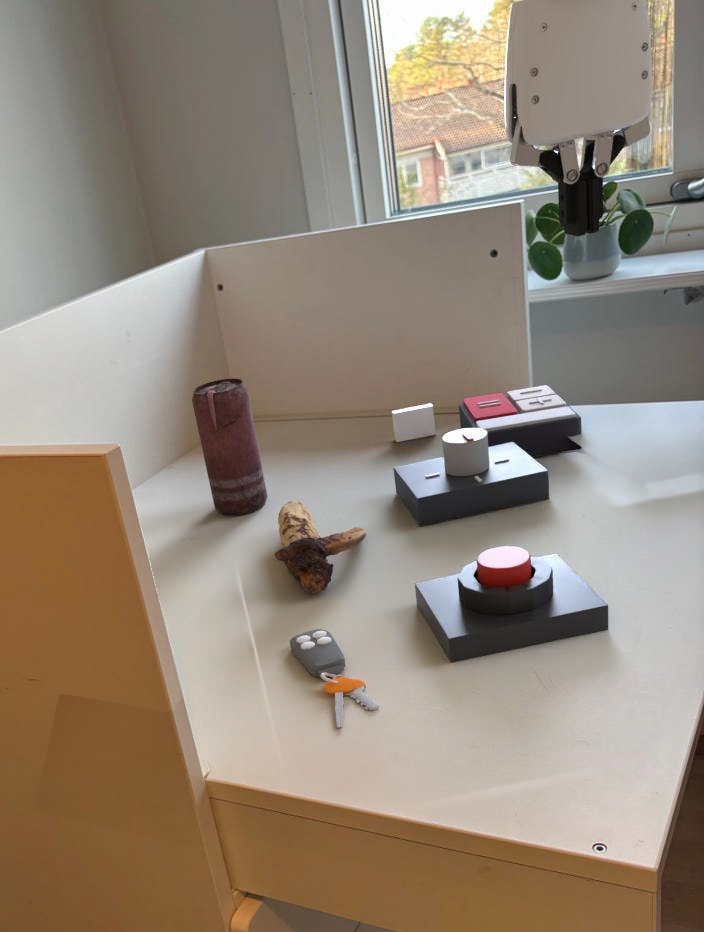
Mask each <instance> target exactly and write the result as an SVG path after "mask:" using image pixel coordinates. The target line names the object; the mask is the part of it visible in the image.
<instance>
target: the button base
mask: <svg viewBox="0 0 704 932" xmlns="http://www.w3.org/2000/svg"><path fill="white" fill-rule="evenodd" d="M531 574H532V575H531V578H530V580H528V581H526V582H524V583H523V584H519V585H514V586H509V587H490V586H487V585H484V584H481V583H480V582H479V580H478V571H477V559H475V560H473V561H472V562H470V563H468V564H466V565H464V566H463V567H462V568H461V570H460V572H459V573H457V574H452V575H447V576H443V577H437V578H433V579H430V580H424V581H419V582H415V583H414V591H415V601H416V606H417V608H418V610H419V611H420V613H421V615H422V617H423V619H424V620H425V622H426V623H427V625H428V627H429V629H430V631H431V632H432V633H433V635H434V637H435V638H436V640H437V642H438V644H439V645H440V647H441V649H442V650H443V652H444V654H445V655H446V657H447V658H448V660H449V662H450V663H451V664H452V663H457V662H461V661H466V660H467V661H468V660H471V659H476V658H480V657H486V656H491V655H496V654H500V653H506V652H511V651H514V650H519V649H524V648H529V647H533V646H538V645H543V644H547V643H553V642H559V641H563V640H566V639H571V638H577V637H582V636H585V635H591V634H595V633H599V632H605V631H608V630H609V604H608V603H607V602H606V601H605V600H604V599H603V598H602V597H601V596H600V595H599V594H598V593H597V592H596V591H595V590H594V589H593V588H592V587H591V586H590V585H589V584H588V583H587V582H586V581H585V580H584V579H583V578H582V577H581V576H580V575H579V574H578V573H577V571H575V570H574V569H573V568H571V566H570V565H569V564H568V563H567V562H566V561H565V560H564V559H563V558H562V557H561V556H560V555H559V554H558V553H556V552H555V553H550V554H546V555H542V556H537V557H536V556H534V555H531Z"/></svg>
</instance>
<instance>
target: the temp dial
mask: <svg viewBox="0 0 704 932" xmlns="http://www.w3.org/2000/svg"><path fill="white" fill-rule="evenodd" d="M441 440H442V451H443V457H444V464H445V472H446V473H447V474H449V475H453V476H470V475H475V474H479V473H482V472H484V471H486V470H487V469H488V468H489V450H488V435H487V431H486V430H484V429H479V428H464V429H462V428H460V429H455V430H452V431H449V432H447V433H445V434H443V436H442V438H441Z"/></svg>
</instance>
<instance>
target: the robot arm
mask: <svg viewBox="0 0 704 932" xmlns="http://www.w3.org/2000/svg"><path fill="white" fill-rule="evenodd" d="M509 11H510V12H509V20H508V26H507V36H506V39H507V40H506V51H505V52H506V53H505V72H504V73H505V74H504V127H505V128H504V129H505V135H506V139H507V141H508V142H509V143H510V144H511V149H510V155H509V162H510V164H511V165H512V166H515V167H533V168H540V169H541V170H542V171H543V172H544V173H546V174H547V175H548V176H549V177H550V178H551V180H552V181H553V183H557V193H558V194H557V195H558V196H557V197H558V221H559V225H560V226H561V227H562V228H563V231H564V234H565V235H569V236H573V237H582V236H586V234H595V233H596V234H597V233H598V232H599V230H600V220H601V219H602V218H603V215H604V177H605V176H607V175H608V174H609V171H610V169H611V168H610V167H611V165H612V164H613V162H614V161H615V160H616V159H617V157H618V156H619V155H620V153H621V152H622V151H623V149H625V148H628V147H630V146H631V145H633V144H636V143H638V142H640V141H642V140H643V139H646V138H647V137H648V136H649V134H650V133H651V126H650V122H649V117H648V115H649V113H650V111H651V107H652V101H653V100H652V99H653V63H652V62H653V60H652V43H651V31H650V23H649V16H648V15H649V14H648V8H647V2H646V0H519V1H515V2H513V3H511V5H510V10H509ZM582 138H583V139H582ZM578 139H579V140H580V139H582V150H581V158H580V167H579V160H578V154H577V153H578V152H577V148H576V141H575V140H578ZM544 146H545V147H546V149H537V148H535V147H544Z"/></svg>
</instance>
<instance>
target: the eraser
mask: <svg viewBox="0 0 704 932" xmlns="http://www.w3.org/2000/svg"><path fill="white" fill-rule="evenodd" d="M391 418H392V419H391V420H392V426H393V435H394V440H395V442H396V443H400V442H405V441H410V440H411V441H412V440H416V439H421V438H426V437H430V436H436V435H437V434H436V424H435V423H436V422H435V413H434V405H433V404H432V403H431V402H430V403H425V404H421V405H416V406H410V407H405V408H400V409H396V410H391Z"/></svg>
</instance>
